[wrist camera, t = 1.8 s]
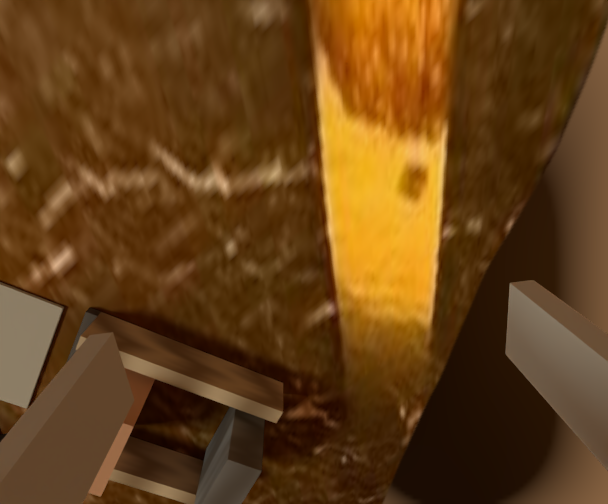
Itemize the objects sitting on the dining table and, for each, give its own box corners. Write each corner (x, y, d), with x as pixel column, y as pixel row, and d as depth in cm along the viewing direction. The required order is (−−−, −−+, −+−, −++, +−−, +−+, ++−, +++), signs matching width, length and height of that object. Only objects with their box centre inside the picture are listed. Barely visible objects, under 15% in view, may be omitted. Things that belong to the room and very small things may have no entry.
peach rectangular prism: (99, 412, 41) (57, 483, 33) (126, 349, 38) (88, 411, 31) (133, 424, 41) (100, 496, 34) (162, 363, 39) (133, 426, 31)
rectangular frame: (46, 419, 41) (-7, 493, 33) (90, 307, 36) (40, 361, 29) (226, 478, 44) (214, 556, 37) (283, 382, 40) (283, 448, 33)
